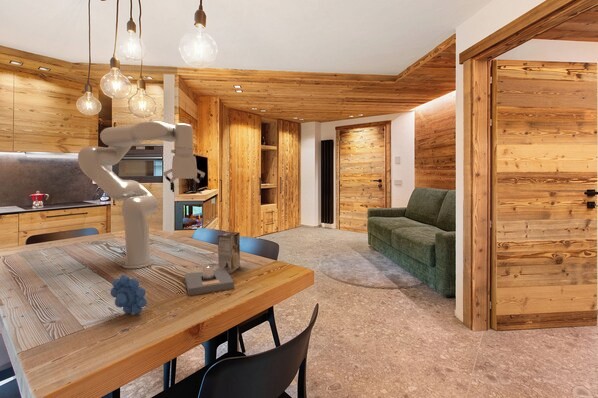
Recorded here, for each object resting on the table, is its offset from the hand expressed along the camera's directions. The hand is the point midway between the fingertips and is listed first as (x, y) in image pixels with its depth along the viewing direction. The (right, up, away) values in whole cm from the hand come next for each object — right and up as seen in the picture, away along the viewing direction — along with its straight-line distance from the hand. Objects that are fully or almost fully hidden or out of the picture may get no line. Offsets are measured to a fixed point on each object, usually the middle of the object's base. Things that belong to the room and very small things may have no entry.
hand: (185, 191), depth 128 cm
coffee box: (+20, -35, +1) cm, 40 cm away
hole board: (+16, -36, -17) cm, 43 cm away
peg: (+16, -36, -17) cm, 43 cm away
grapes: (-1, -39, -41) cm, 56 cm away
